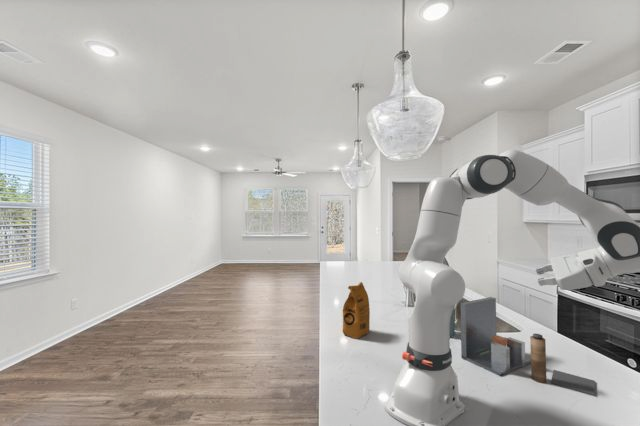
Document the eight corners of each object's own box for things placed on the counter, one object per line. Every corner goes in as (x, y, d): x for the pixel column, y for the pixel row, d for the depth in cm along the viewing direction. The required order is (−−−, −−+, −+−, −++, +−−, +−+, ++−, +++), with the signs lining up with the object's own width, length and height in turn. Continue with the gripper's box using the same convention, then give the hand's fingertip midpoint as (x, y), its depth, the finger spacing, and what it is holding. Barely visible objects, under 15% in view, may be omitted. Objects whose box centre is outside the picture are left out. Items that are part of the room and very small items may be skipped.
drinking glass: (458, 338, 123) (458, 310, 123) (433, 337, 125) (433, 309, 125) (452, 330, 133) (452, 303, 133) (429, 328, 135) (429, 302, 135)
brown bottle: (545, 384, 89) (544, 338, 89) (530, 379, 91) (529, 335, 92) (547, 379, 91) (545, 334, 92) (532, 375, 94) (531, 331, 94)
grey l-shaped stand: (500, 376, 93) (498, 313, 94) (461, 357, 106) (460, 303, 106) (530, 363, 102) (529, 306, 102) (491, 347, 114) (490, 297, 115)
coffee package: (339, 334, 128) (338, 284, 129) (354, 326, 138) (354, 280, 138) (357, 340, 122) (357, 288, 122) (373, 331, 131) (372, 283, 132)
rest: (595, 396, 82) (595, 395, 82) (550, 383, 89) (550, 381, 89) (594, 382, 90) (594, 380, 90) (553, 370, 97) (553, 369, 97)
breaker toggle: (501, 361, 100) (500, 340, 101) (492, 357, 103) (492, 337, 103) (506, 359, 102) (506, 338, 102) (498, 355, 105) (497, 335, 105)
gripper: (579, 245, 95) (531, 258, 102) (593, 266, 78) (534, 279, 86) (589, 263, 94) (539, 274, 102) (605, 288, 77) (544, 299, 85)
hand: (537, 277), depth 94 cm, fingers open, 8 cm apart
